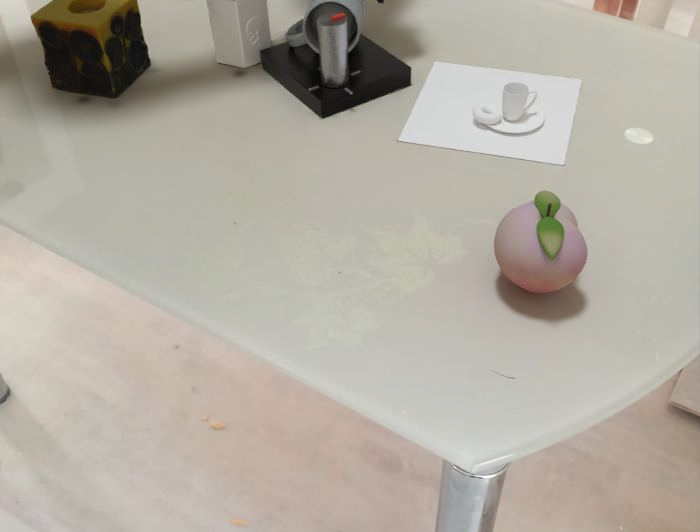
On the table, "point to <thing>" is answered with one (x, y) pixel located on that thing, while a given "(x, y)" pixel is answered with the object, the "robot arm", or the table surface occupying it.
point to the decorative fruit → (540, 245)
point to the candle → (92, 44)
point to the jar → (239, 30)
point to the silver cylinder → (333, 49)
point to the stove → (364, 85)
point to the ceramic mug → (323, 3)
